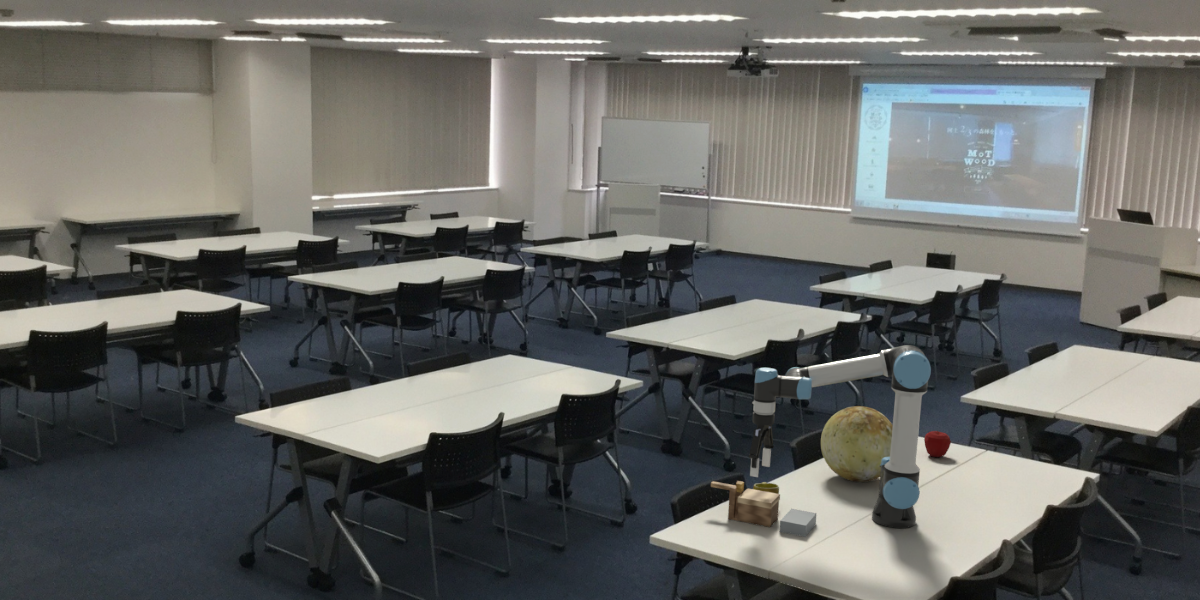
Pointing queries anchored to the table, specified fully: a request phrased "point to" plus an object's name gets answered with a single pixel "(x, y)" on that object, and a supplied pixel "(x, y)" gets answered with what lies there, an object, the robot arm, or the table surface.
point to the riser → (798, 522)
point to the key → (728, 486)
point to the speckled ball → (856, 443)
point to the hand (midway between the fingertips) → (760, 471)
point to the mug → (767, 487)
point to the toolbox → (750, 511)
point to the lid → (759, 498)
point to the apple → (937, 443)
